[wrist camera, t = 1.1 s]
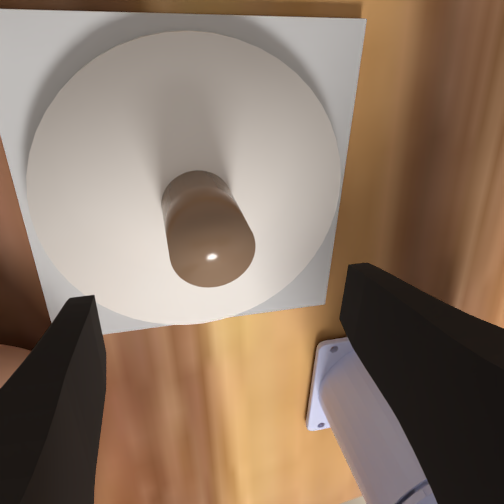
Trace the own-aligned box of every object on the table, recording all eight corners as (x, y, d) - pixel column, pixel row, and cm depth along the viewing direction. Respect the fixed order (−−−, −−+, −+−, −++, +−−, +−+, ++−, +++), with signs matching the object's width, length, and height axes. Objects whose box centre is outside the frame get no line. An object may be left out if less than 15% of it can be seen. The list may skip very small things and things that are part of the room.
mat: (360, 18, 17) (366, 19, 17) (321, 299, 24) (324, 304, 24) (-30, 7, 14) (-34, 8, 14) (57, 334, 21) (56, 340, 21)
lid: (353, 32, 17) (423, 44, 13) (317, 297, 23) (356, 359, 19) (-12, 26, 14) (-68, 38, 10) (65, 331, 20) (50, 412, 17)
